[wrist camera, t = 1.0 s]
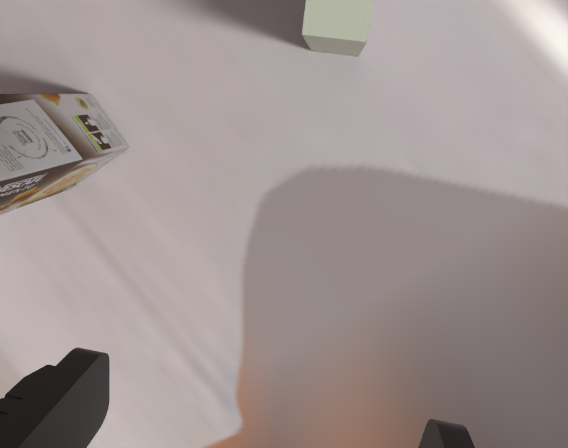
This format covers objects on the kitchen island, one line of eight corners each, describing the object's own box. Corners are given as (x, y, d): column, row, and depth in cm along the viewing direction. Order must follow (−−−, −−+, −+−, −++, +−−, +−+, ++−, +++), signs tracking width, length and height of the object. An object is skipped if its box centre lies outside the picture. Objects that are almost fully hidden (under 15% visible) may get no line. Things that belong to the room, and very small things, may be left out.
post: (367, 3, 32) (380, -34, 22) (358, 56, 33) (366, 42, 24) (318, -2, 32) (310, -41, 23) (311, 50, 33) (301, 34, 24)
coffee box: (89, 89, 37) (-82, 87, 22) (130, 147, 38) (-4, 183, 23) (25, 141, 39) (-168, 170, 24) (66, 194, 41) (-93, 253, 26)
